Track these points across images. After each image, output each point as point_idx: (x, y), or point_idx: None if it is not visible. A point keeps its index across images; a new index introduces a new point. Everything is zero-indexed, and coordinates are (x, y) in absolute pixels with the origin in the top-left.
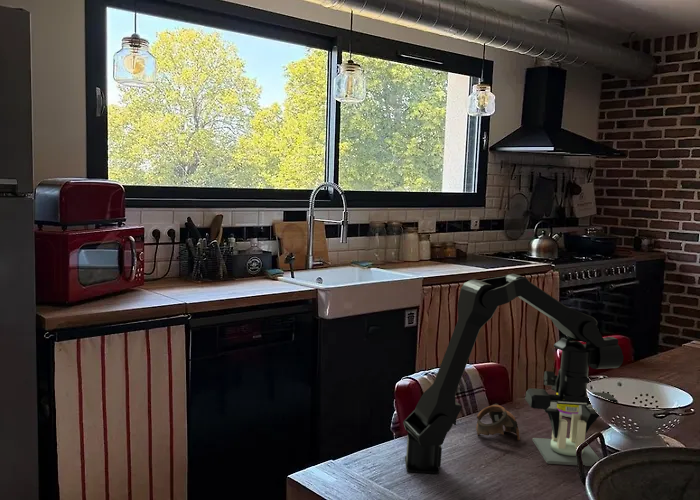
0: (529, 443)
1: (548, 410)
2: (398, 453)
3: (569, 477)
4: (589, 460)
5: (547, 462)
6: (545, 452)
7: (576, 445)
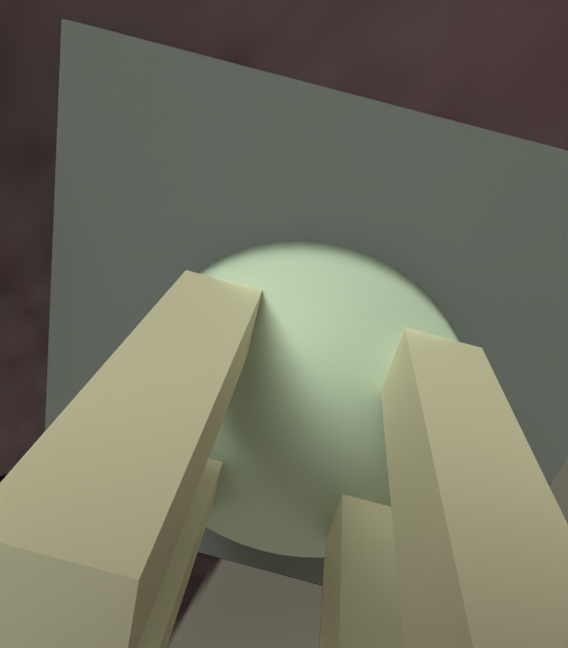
0: (19, 109)
1: None
2: None
3: None
4: None
5: None
6: (78, 392)
7: (333, 537)
